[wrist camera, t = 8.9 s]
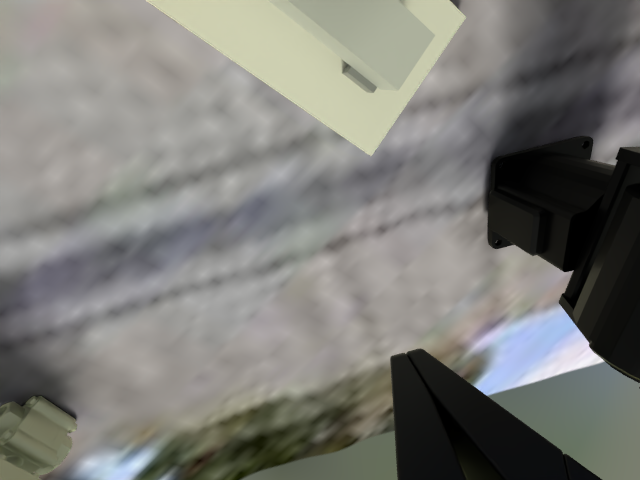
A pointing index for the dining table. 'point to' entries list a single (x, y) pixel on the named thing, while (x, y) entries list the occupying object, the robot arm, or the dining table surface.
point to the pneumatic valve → (33, 438)
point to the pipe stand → (330, 52)
